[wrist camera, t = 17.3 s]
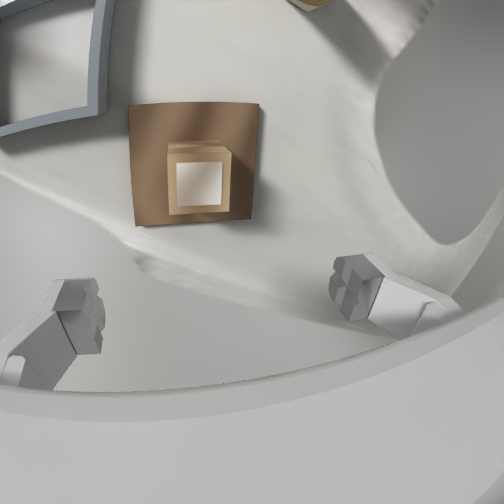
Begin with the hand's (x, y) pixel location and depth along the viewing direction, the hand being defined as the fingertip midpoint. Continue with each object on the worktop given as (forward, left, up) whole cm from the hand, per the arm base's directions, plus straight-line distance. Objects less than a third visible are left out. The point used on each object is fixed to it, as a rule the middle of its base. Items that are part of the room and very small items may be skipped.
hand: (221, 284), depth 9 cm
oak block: (-1, +1, -22) cm, 22 cm away
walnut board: (-1, +1, -23) cm, 23 cm away
